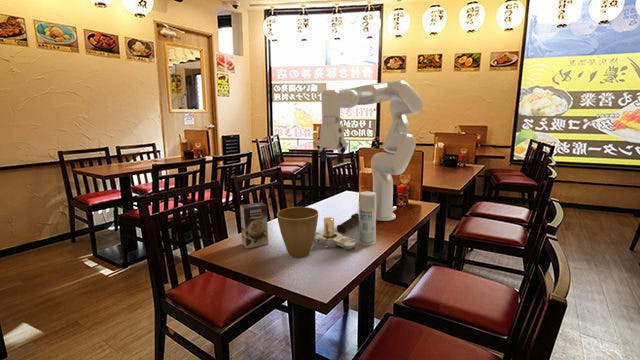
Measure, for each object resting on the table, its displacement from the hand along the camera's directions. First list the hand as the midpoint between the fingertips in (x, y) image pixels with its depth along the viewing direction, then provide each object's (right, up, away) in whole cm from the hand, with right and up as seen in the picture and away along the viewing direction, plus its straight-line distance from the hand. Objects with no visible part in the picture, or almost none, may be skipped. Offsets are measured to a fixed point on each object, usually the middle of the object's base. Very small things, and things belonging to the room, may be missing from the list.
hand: (331, 161), depth 149 cm
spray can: (+14, -33, -9) cm, 37 cm away
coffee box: (-31, -33, -8) cm, 46 cm away
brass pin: (-1, -33, -9) cm, 34 cm away
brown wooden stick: (+8, -29, +10) cm, 32 cm away
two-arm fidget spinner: (-1, -33, -9) cm, 34 cm away
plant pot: (-13, -35, -20) cm, 42 cm away
